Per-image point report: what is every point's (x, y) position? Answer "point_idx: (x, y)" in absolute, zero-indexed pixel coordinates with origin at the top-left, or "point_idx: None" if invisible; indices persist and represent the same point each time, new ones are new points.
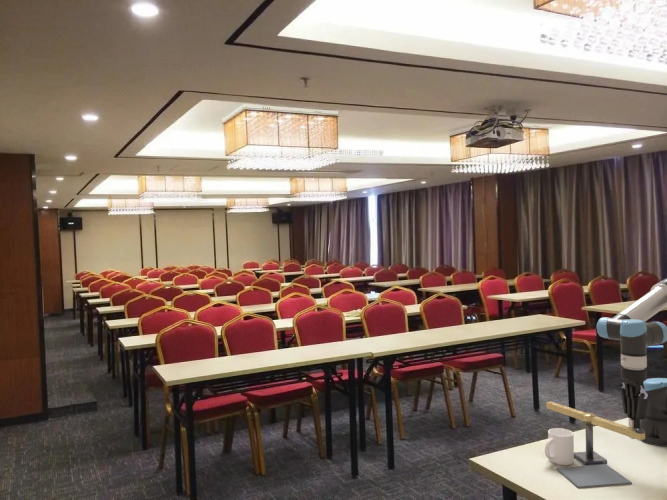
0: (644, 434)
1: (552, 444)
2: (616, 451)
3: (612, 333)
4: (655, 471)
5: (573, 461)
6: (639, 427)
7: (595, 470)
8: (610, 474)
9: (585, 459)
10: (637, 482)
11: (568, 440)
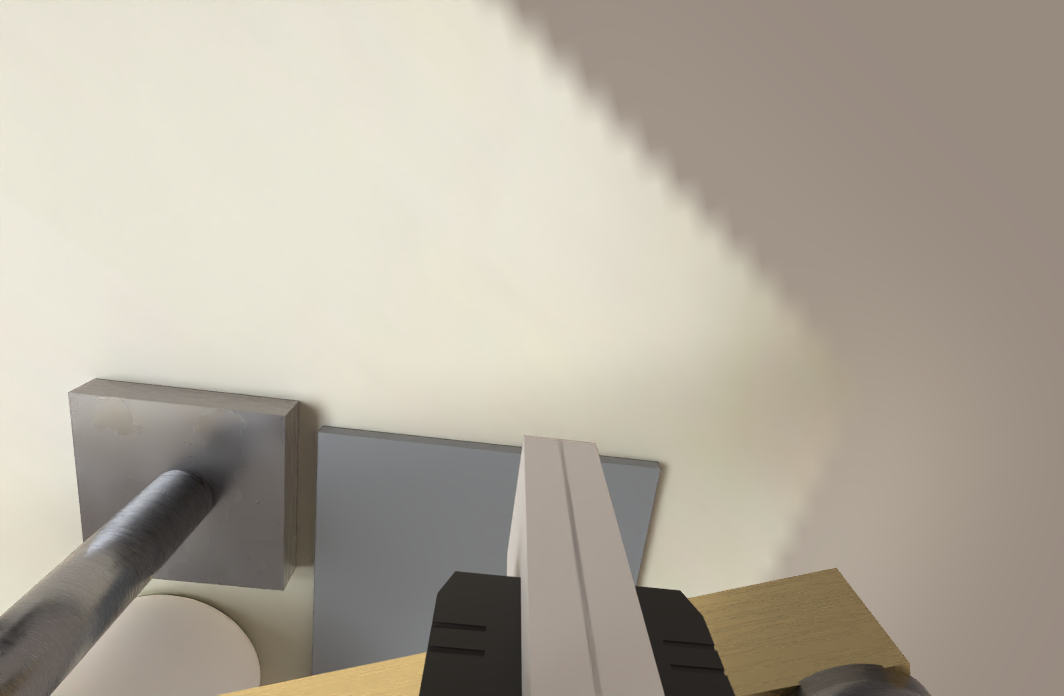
0: (882, 640)
1: None
2: (17, 112)
3: None
4: (524, 104)
5: (225, 620)
6: (708, 643)
7: (410, 574)
8: (500, 521)
9: (241, 564)
10: (648, 405)
11: None
